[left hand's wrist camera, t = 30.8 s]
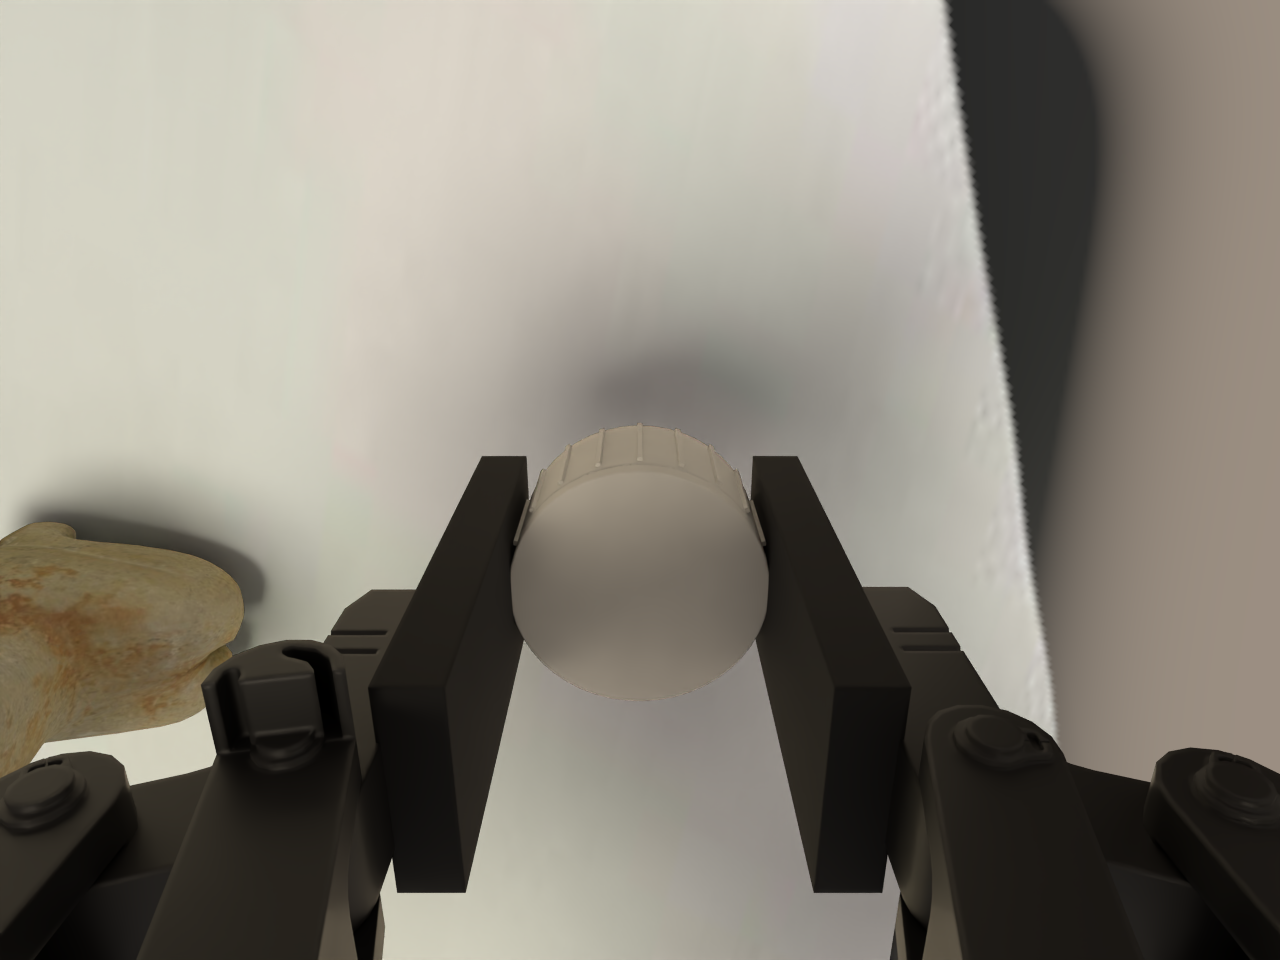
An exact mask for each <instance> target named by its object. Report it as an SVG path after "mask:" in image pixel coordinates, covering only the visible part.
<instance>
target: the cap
mask: <svg viewBox="0 0 1280 960" xmlns="http://www.w3.org/2000/svg"><path fill="white" fill-rule="evenodd" d="M513 545H515V546H516V549H515V552H514V556H513V559H512V563H511V567H510V575H511V592H512V607H513V616H514V619H515V622H516V625H517V627H518V629H519V631H520V633H521V635H522V637H523V639H524V640H525V642H526V643H527V645H528V646H529V648H530V649H531V651H532V652H533V653H534V654H535V655H536V656H537V657H538V659H539V660H540V661H541V662H542V663H543V664H544V665H545V666H547V667H548V668H549V669H550V670H551V671H552V672H553V673H555V674H556V675H558V676H559V677H561V678H562V679H564V680H565V681H567V682H569V683H571V684H573V685H574V686H576V687H578V688H580V689H583V690H585V691H588V692H591V693H593V694H596V695H600V696H604V697H608V698H613V699H619V700H626V701H650V700H660V699H666V698H671V697H676V696H679V695H682V694H686V693H689V692H691V691H694V690H696V689H698V688H701V687H703V686H705V685H707V684H709V683H710V682H712V681H714V680H715V679H717V678H719V677H720V676H721V675H723V674H724V673H725V672H727V671H728V670H729V669H731V668H732V667H733V666H734V665H735V664H736V663H737V662H738V661H739V660H740V659H741V658H742V657H743V655H744V654H745V653H746V652H747V650H748V649H749V648H750V647H751V645H752V643H753V642H754V640H755V638H756V637H757V635H758V633H759V631H760V629H761V627H762V624H763V622H764V619H765V616H766V612H767V599H768V583H769V568H768V563H767V558H766V555H765V552H764V548H763V546H766V541H765V538H764V535H763V531H762V528H761V525H760V522H759V518H758V515H757V512H756V509H755V506H754V502H753V500H750V501H749V499H748V496H747V493H746V491H745V489H744V487H743V484H742V481H741V477H740V474H739V472H738V470H737V469H736V470H734V471H733V469H732V468H731V467H730V465H729V464H728V463H727V462H726V461H725V460H724V459H723V458H722V457H721V456H720V455H719V454H717V453H716V452H715V450H714V447H713V446H712V445H709V446H707V445H705V444H704V443H702V442H700V441H699V440H697V439H695V438H693V437H690V436H688V435H686V434H684V433H681V431H680V429H677V428H676V429H675V431H674V430H671V429H668V428H661V427H655V426H642V423H637V425H636V426H634V425H633V426H624V427H618V428H613V429H608V430H605V429H604V428H602V429H599V433H595V434H593V435H591V436H589V437H587V438H585V439H583V440H581V441H579V442H577V443H575V444H574V445H572V446H571V445H570V444H569V445H567V446H566V448H565V451H564V452H563V453H562V454H561V455H560V456H558V457H557V458H556V459H555V460H554V461H553V462H552V463H551V465H550V466H549V467H548V468H547V469H546V470H544V469H542V471H541V472H540V475H539V479H538V482H537V485H536V487H535V489H534V492H533V494H532V496H531V499H530V500H526V503H525V506H524V509H523V512H522V516H521V519H520V522H519V525H518V528H517V531H516V535H515V538H514V541H513Z"/></svg>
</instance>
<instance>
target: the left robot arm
mask: <svg viewBox="0 0 1280 960" xmlns="http://www.w3.org/2000/svg"><path fill="white" fill-rule="evenodd" d="M526 500H529V495H528V476H527V458H526V456H482V457H481V459H480V461H479V463H478V465H477V468H476V470H475V472H474V474H473V476H472V478H471V480H470V482H469V484H468V486H467V488H466V490H465V492H464V494H463V496H462V498H461V500H460V502H459V504H458V506H457V508H456V510H455V512H454V514H453V516H452V518H451V520H450V522H449V524H448V526H447V528H446V530H445V532H444V534H443V536H442V538H441V540H440V542H439V544H438V546H437V548H436V550H435V552H434V554H433V556H432V558H431V560H430V562H429V564H428V566H427V569H426V571H425V573H424V575H423V577H422V579H421V581H420V583H419V585H418V587H417V589H416V590H371V591H369V592H368V593H366V594H365V595H364V596H362V597H361V598H359V599H358V600H356V601H355V602H354V603H352V604H351V605H349V606H348V607H347V608H345V609H344V611H343V613H342V614H341V616H340V617H339V619H338V621H337V622H336V624H335V625H334V627H333V629H332V630H331V635H328V637H327V638H326V640H325V641H324V643H321V642H317V641H313V640H284V641H279V642H274V643H269V644H264V645H259V646H257V647H254V648H252V649H249V650H246V651H244V652H241V653H239V654H236V655H234V656H232V657H231V658H229V659H228V660H226V661H225V662H223V663H222V664H220V665H219V666H217V667H216V668H214V669H213V670H212V671H211V672H210V674H209V675H208V676H207V677H206V679H205V680H204V681H203V682H202V684H201V689H202V693H203V697H204V702H205V706H206V710H207V715H208V719H209V723H210V727H211V732H212V736H213V740H214V745H215V749H216V753H217V755H216V758H215V760H214V763H213V766H211V767H208V768H205V769H201V770H198V771H194V772H191V773H187V774H183V775H178V776H173V777H169V778H164V779H159V780H155V781H150V782H145V783H141V784H136V785H132V786H130V785H129V782H128V778H127V775H126V771H125V768H124V766H123V765H122V764H121V763H120V762H119V761H118V760H116V759H115V758H114V757H113V756H112V755H107V754H102V753H97V752H92V751H87V752H76V753H66V754H60V755H57V756H52V757H48V758H46V759H41V760H38V761H36V762H33V763H30V764H28V765H26V766H24V767H22V768H20V769H18V770H16V771H14V772H12V773H10V774H8V775H6V776H3V777H1V778H0V960H382V954H383V944H384V933H385V923H384V917H383V911H382V904H381V898H380V891H381V888H382V885H383V882H384V879H385V877H386V874H387V871H388V868H389V865H390V862H391V859H392V860H393V866H394V873H395V880H396V887H397V893H466V889H467V884H468V880H469V876H470V871H471V867H472V863H473V858H474V854H475V850H476V845H477V841H478V837H479V832H480V828H481V824H482V819H483V815H484V811H485V806H486V802H487V798H488V793H489V789H490V785H491V780H492V776H493V772H494V767H495V763H496V759H497V754H498V750H499V746H500V741H501V737H502V732H503V728H504V724H505V719H506V715H507V711H508V706H509V702H510V698H511V693H512V689H513V685H514V680H515V676H516V672H517V667H518V663H519V659H520V654H521V650H522V646H523V641H524V639H523V637H522V635H521V633H520V631H519V629H518V627H517V625H516V622H515V619H514V616H513V607H512V592H511V575H510V567H511V563H512V559H513V556H514V552H515V549H516V546H515V545H513V541H514V538H515V535H516V531H517V528H518V525H519V522H520V519H521V516H522V512H523V509H524V506H525V503H526ZM751 500H753V502H754V506H755V509H756V512H757V515H758V518H759V522H760V525H761V528H762V531H763V535H764V538H765V541H766V546H763V548H764V552H765V555H766V558H767V563H768V568H769V583H768V599H767V612H766V616H765V619H764V622H763V624H762V627H761V629H760V631H759V633H758V635H757V637H756V638H755V639H756V644H757V648H758V652H759V657H760V661H761V665H762V670H763V674H764V678H765V683H766V687H767V691H768V696H769V700H770V704H771V709H772V713H773V717H774V722H775V726H776V730H777V735H778V739H779V743H780V748H781V752H782V756H783V761H784V765H785V769H786V774H787V778H788V783H789V787H790V791H791V796H792V800H793V804H794V809H795V813H796V817H797V822H798V826H799V830H800V835H801V839H802V843H803V848H804V852H805V856H806V861H807V865H808V869H809V874H810V878H811V882H812V887H813V891H814V893H882V891H883V884H884V877H885V870H886V863H887V856H888V857H889V859H890V862H891V865H892V868H893V871H894V874H895V877H896V880H897V883H898V886H899V888H900V898H899V904H898V910H897V917H896V923H895V930H894V936H893V943H892V949H891V956H890V960H1280V774H1279V773H1277V772H1275V771H1273V770H1270V769H1268V768H1266V767H1264V766H1262V765H1260V764H1258V763H1256V762H1254V761H1252V760H1250V759H1247V758H1244V757H1241V756H1238V755H1233V754H1231V753H1227V752H1223V751H1219V750H1211V749H1200V748H1185V749H1180V750H1175V751H1170V752H1168V753H1167V754H1166V755H1164V756H1163V757H1162V758H1161V759H1160V760H1158V761H1157V762H1156V766H1155V769H1154V772H1153V776H1152V780H1151V782H1146V781H1141V780H1137V779H1132V778H1127V777H1123V776H1118V775H1113V774H1109V773H1104V772H1099V771H1095V770H1091V769H1087V768H1084V767H1080V766H1076V765H1073V764H1070V763H1068V762H1066V759H1065V757H1064V754H1063V752H1062V751H1061V749H1060V748H1059V747H1058V745H1057V744H1056V742H1055V741H1054V739H1053V738H1052V737H1051V736H1050V735H1049V734H1047V733H1046V732H1045V731H1044V730H1042V729H1041V728H1040V727H1038V726H1037V725H1036V724H1034V723H1033V722H1031V721H1029V720H1027V719H1025V718H1023V717H1020V716H1018V715H1016V714H1014V713H1011V712H1009V711H1006V710H1002V709H1000V708H999V707H998V705H997V704H996V702H995V701H994V699H993V697H992V696H991V694H990V693H989V691H988V689H987V688H986V686H985V685H984V683H983V682H982V680H981V678H980V677H979V675H978V674H977V672H976V670H975V669H974V667H973V666H972V664H971V663H970V661H969V659H968V658H967V656H966V655H965V653H964V651H961V650H960V645H959V643H958V642H957V640H956V639H955V637H954V636H953V634H952V632H949V628H948V626H947V624H946V623H945V621H944V620H943V618H942V617H941V615H940V613H939V612H938V610H937V609H936V607H935V606H934V605H933V604H931V603H930V602H928V601H927V600H926V599H924V598H923V597H921V596H920V595H919V594H917V593H916V592H914V591H913V590H912V589H910V588H909V587H862V586H861V584H860V582H859V580H858V578H857V576H856V574H855V572H854V570H853V568H852V566H851V564H850V562H849V560H848V558H847V556H846V554H845V551H844V549H843V547H842V545H841V543H840V541H839V539H838V537H837V535H836V533H835V531H834V529H833V527H832V525H831V523H830V521H829V519H828V517H827V515H826V513H825V511H824V509H823V507H822V505H821V503H820V501H819V499H818V497H817V495H816V493H815V491H814V489H813V487H812V485H811V483H810V481H809V479H808V477H807V475H806V473H805V471H804V469H803V467H802V465H801V463H800V461H799V459H798V457H797V456H753V466H752V485H751Z"/></svg>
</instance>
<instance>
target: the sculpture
mask: <svg viewBox="0 0 1280 960" xmlns="http://www.w3.org/2000/svg"><path fill="white" fill-rule="evenodd" d="M243 617H244V605H243V598H242V594H241V590H240V588H239V586H238V584H237V583H236V582H235V581H234V580H233V578H232V577H231V576H230V575H229V574H227V573H226V572H225V571H224V570H222V569H221V568H219V567H217V566H216V565H214V564H212V563H210V562H208V561H206V560H204V559H201V558H199V557H196V556H193V555H189V554H185V553H181V552H176V551H172V550H167V549H160V548H153V547H146V546H139V545H130V544H120V543H108V542H96V541H87V540H77V539H76V532H75V530H74V529H73V528H72V527H70V526H68V525H66V524H63V523H56V522H39V523H32V524H28V525H26V526H24V527H22V528H21V529H19V530H17V531H15V532H13V533H11V534H9V535H8V536H6V537H4V538H3V539H1V540H0V778H1V777H3V776H6V775H8V774H10V773H12V772H14V771H16V770H18V769H20V768H22V767H24V766H26V765H28V764H30V762H31V761H32V759H33V758H34V756H35V755H36V754H37V752H38V751H39V749H40V748H41V746H42V745H43V744H44V743H46V742H54V741H61V740H69V739H77V738H84V737H92V736H100V735H108V734H116V733H122V732H128V731H135V730H141V729H148V728H155V727H161V726H165V725H169V724H173V723H177V722H180V721H182V720H185V719H187V718H189V717H191V716H193V715H195V714H196V713H198V712H200V711H201V710H202V709H204V708H205V707H206V706H205V702H204V697H203V693H202V689H201V684H202V682H203V681H204V680H205V679H206V677H207V676H208V675H209V674H210V672H211V671H212V670H213V669H214V668H216V667H217V666H219V665H220V664H222V663H223V662H225V661H226V660H228V659H229V658H231V657H232V652H231V651H230V650H229V648H228V647H227V646H226V645H225V644H227V643H229V642H231V641H233V640H234V638H235V637H236V635H237V633H238V631H239V629H240V626H241V623H242V620H243Z"/></svg>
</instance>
